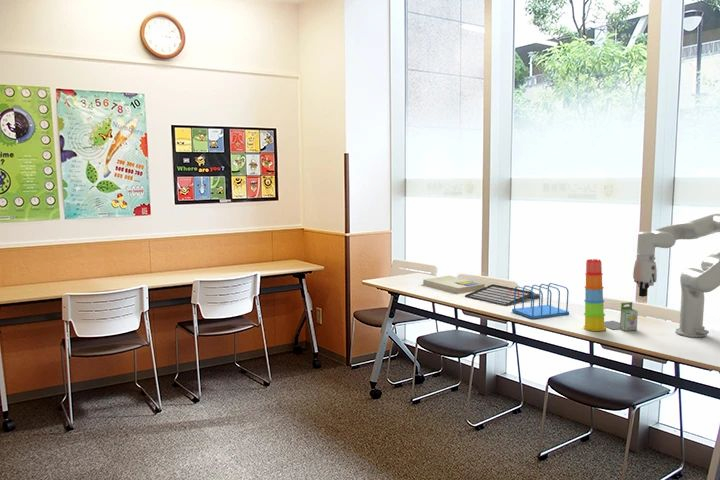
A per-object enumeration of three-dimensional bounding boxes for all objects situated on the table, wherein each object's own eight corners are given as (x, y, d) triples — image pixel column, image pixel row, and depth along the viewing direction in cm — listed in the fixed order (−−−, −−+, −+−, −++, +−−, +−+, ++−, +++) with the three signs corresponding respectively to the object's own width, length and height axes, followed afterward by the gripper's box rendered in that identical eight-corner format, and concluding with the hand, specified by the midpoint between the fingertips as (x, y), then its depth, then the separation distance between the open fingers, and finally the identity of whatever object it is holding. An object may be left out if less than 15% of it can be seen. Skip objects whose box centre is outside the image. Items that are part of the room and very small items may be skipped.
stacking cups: (592, 332, 278) (595, 262, 274) (578, 327, 288) (581, 259, 284) (610, 330, 281) (613, 260, 277) (596, 325, 291) (599, 257, 287)
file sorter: (532, 319, 303) (532, 291, 302) (511, 312, 319) (512, 285, 317) (569, 314, 313) (570, 287, 311) (547, 307, 329) (548, 281, 327)
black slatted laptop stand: (506, 315, 335) (539, 300, 353) (506, 304, 333) (539, 290, 351) (465, 303, 360) (497, 290, 378) (464, 292, 358) (497, 279, 376)
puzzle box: (449, 281, 409) (422, 285, 397) (449, 275, 409) (422, 279, 396) (485, 290, 379) (457, 295, 366) (485, 283, 378) (457, 288, 366)
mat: (632, 327, 286) (632, 327, 286) (613, 330, 282) (613, 329, 282) (613, 321, 298) (613, 320, 298) (594, 323, 294) (594, 322, 294)
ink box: (625, 331, 279) (626, 304, 278) (619, 329, 283) (620, 302, 281) (637, 330, 281) (638, 303, 279) (631, 328, 285) (632, 301, 283)
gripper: (664, 260, 264) (661, 299, 266) (639, 255, 278) (636, 292, 280) (651, 260, 261) (649, 300, 264) (627, 256, 275) (624, 293, 278)
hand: (642, 296), depth 272 cm, fingers closed
